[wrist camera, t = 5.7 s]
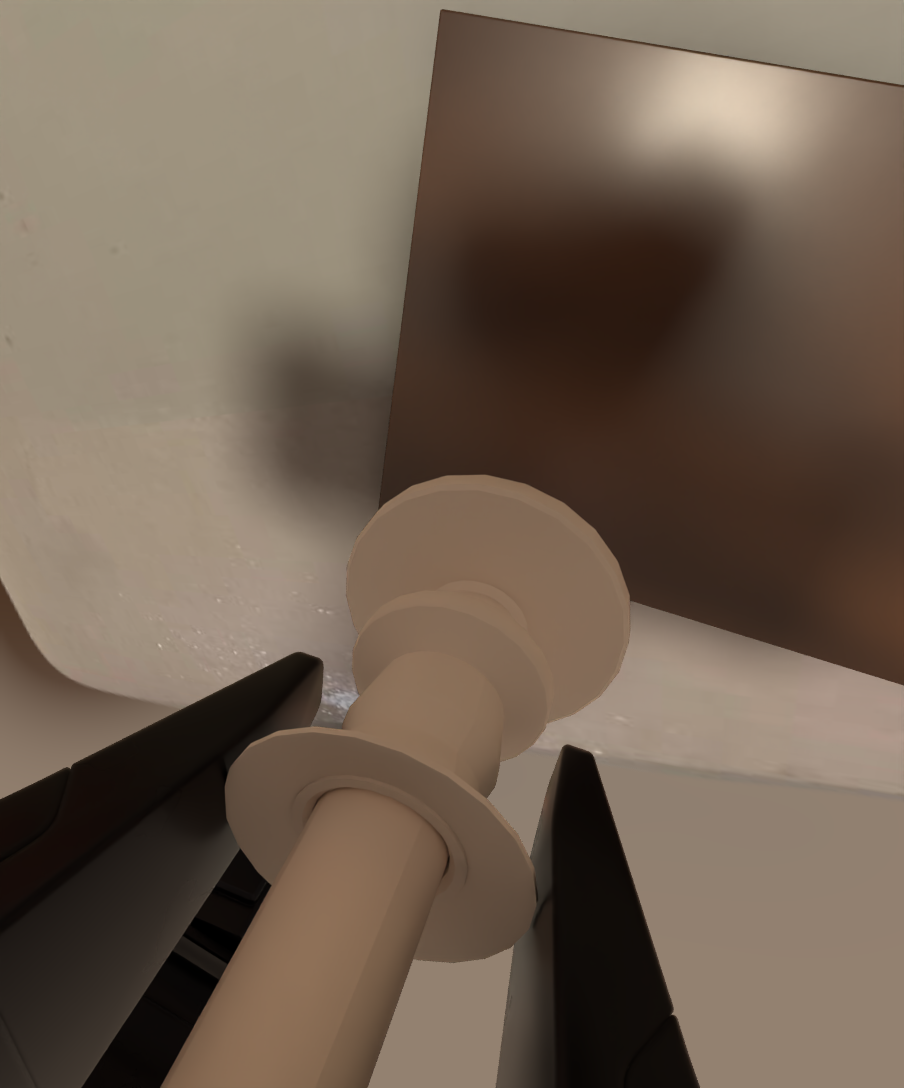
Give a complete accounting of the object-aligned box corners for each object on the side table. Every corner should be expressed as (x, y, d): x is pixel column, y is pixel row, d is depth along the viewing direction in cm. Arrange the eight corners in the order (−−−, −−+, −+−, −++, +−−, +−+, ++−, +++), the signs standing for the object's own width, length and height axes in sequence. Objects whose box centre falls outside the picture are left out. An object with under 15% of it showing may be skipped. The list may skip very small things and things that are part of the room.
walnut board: (990, 698, 20) (1001, 716, 19) (385, 512, 23) (376, 522, 22) (1433, 179, 12) (1477, 179, 12) (450, 15, 16) (439, 8, 15)
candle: (342, 457, 11) (-744, 1374, 3) (650, 489, 10) (471, 2569, 1) (367, 684, 14) (-144, 1522, 5) (614, 734, 12) (475, 1981, 4)
